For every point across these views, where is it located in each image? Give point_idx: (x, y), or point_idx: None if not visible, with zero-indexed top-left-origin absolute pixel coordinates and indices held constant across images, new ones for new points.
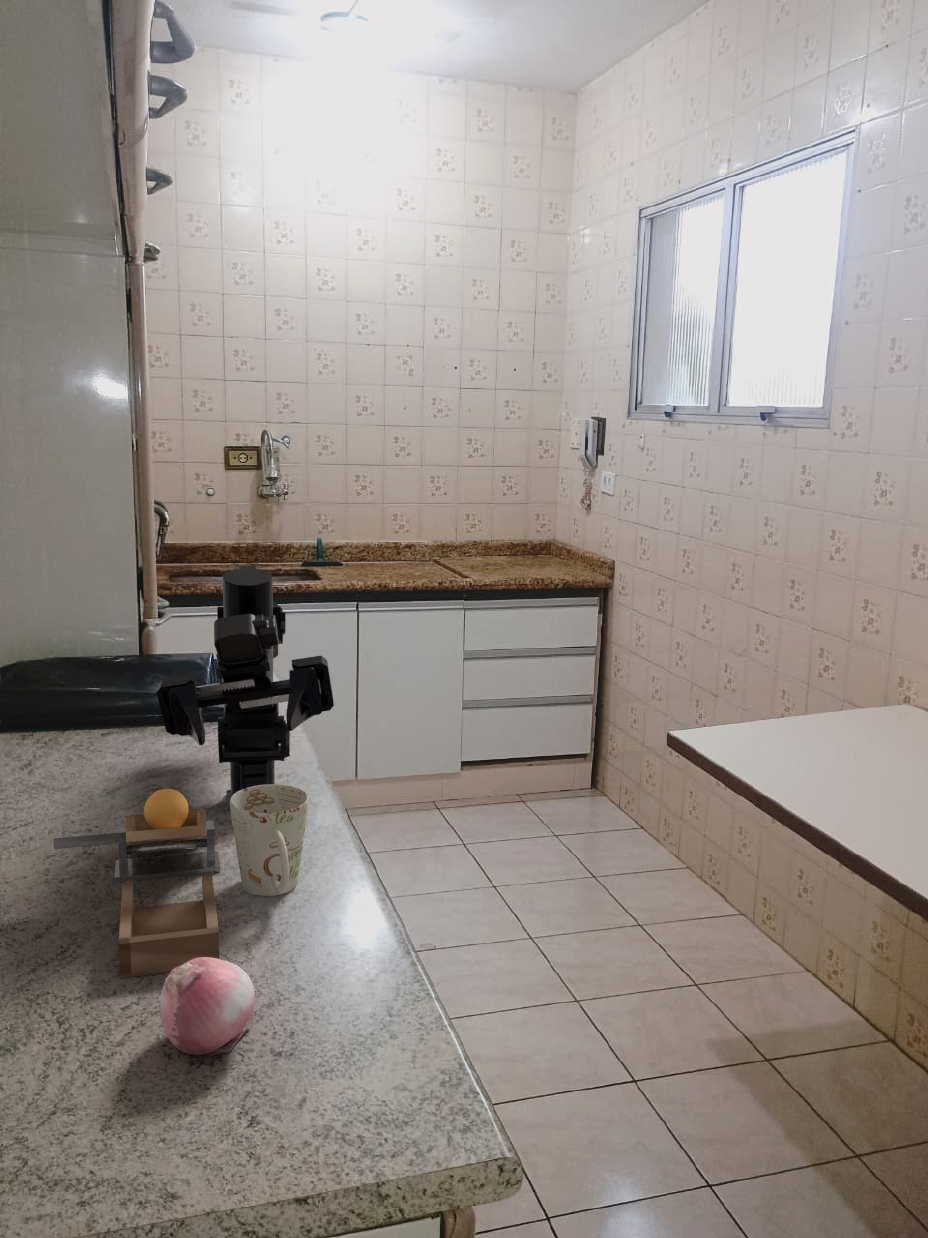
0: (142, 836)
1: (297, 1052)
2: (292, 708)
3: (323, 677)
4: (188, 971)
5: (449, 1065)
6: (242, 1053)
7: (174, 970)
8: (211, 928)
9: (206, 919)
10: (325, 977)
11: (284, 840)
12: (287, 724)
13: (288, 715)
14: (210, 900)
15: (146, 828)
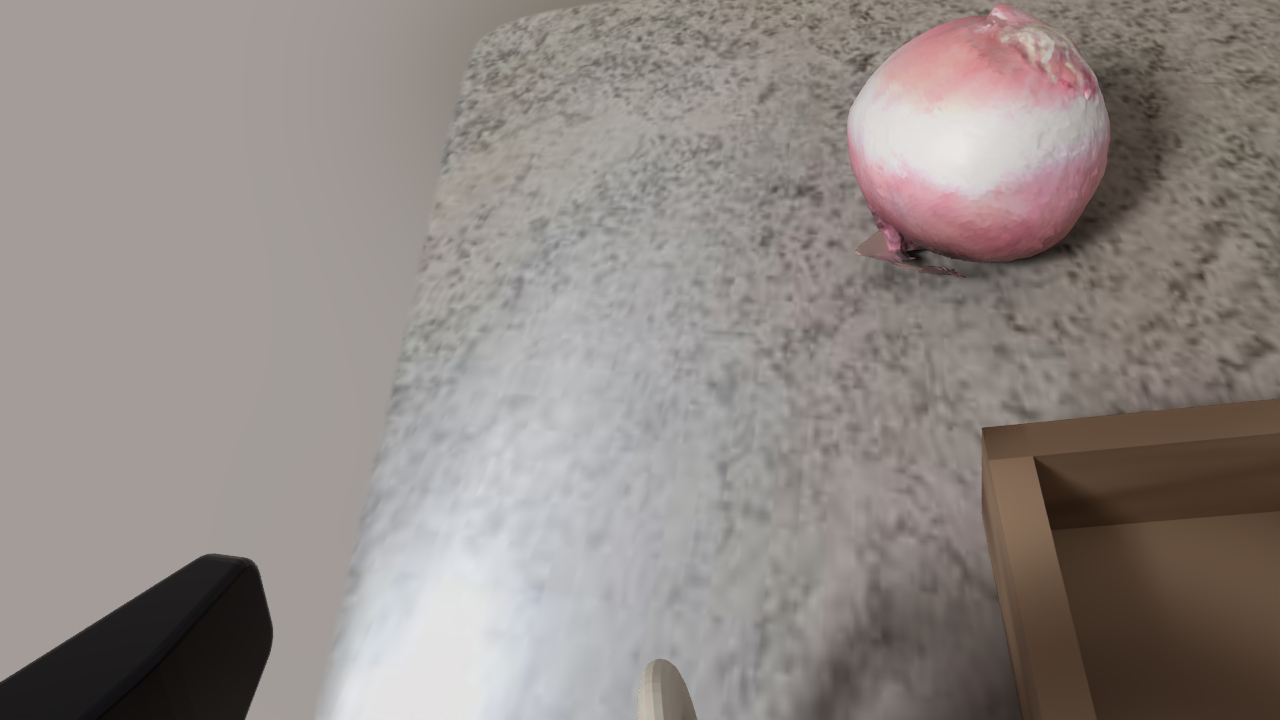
0: None
1: (760, 193)
2: (6, 706)
3: None
4: (1023, 21)
5: (465, 158)
6: None
7: (1072, 63)
8: (1015, 452)
9: (1046, 513)
10: (639, 426)
11: (639, 692)
12: (252, 568)
13: (153, 623)
14: (1054, 667)
15: None
